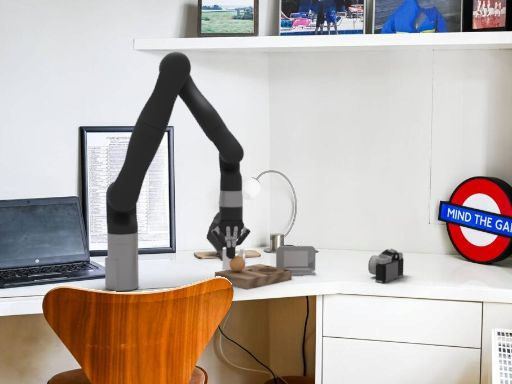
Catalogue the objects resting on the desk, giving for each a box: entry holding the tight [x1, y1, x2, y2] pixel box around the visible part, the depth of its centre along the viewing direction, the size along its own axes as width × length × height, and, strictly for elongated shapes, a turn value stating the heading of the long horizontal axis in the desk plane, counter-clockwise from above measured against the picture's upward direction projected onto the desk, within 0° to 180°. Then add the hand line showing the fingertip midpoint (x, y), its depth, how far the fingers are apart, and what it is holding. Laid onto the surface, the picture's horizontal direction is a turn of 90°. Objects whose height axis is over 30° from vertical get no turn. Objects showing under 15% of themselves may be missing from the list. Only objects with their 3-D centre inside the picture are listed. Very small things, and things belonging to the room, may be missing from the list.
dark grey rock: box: [206, 211, 243, 262], centre depth 254 cm, size 14×15×18 cm
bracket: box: [222, 247, 246, 270], centre depth 240 cm, size 13×7×8 cm, turn 177°
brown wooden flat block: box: [214, 263, 293, 290], centre depth 216 cm, size 20×15×3 cm
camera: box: [367, 248, 405, 284], centre depth 220 cm, size 16×9×10 cm, turn 140°
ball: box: [230, 256, 246, 272], centre depth 215 cm, size 5×5×5 cm
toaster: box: [275, 245, 316, 277], centre depth 228 cm, size 13×9×10 cm
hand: (230, 258), depth 215 cm, fingers closed
